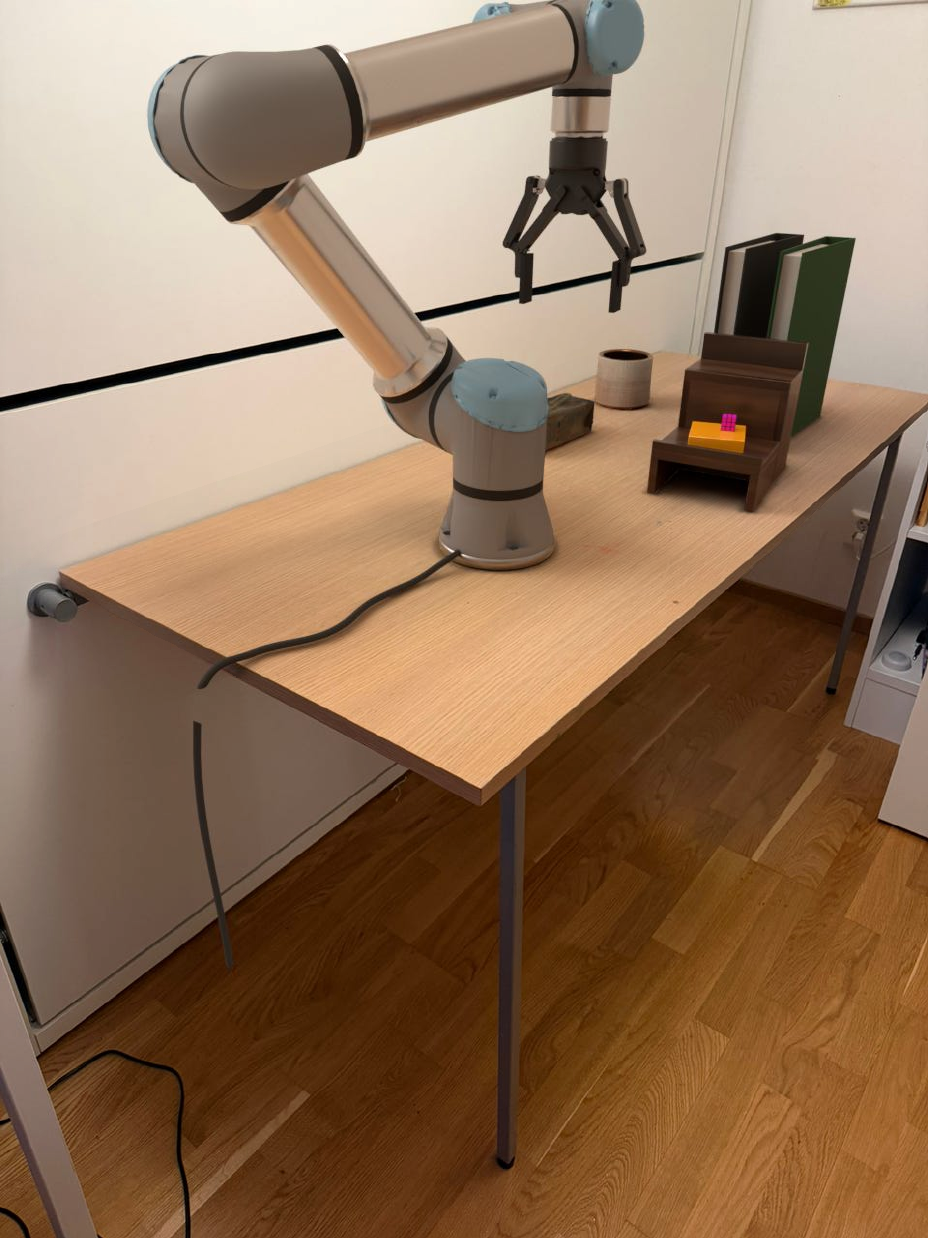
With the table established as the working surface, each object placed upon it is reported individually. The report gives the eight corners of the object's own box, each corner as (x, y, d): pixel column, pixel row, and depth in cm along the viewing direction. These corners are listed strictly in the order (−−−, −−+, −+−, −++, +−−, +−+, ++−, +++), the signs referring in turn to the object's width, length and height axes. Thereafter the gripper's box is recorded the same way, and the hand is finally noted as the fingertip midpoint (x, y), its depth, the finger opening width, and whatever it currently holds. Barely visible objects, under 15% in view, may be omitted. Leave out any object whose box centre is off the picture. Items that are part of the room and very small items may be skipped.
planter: (584, 399, 183) (587, 351, 178) (628, 393, 187) (633, 346, 182) (613, 412, 174) (617, 363, 170) (659, 406, 178) (664, 357, 174)
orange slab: (742, 455, 130) (747, 427, 128) (686, 450, 132) (690, 422, 130) (744, 439, 137) (748, 412, 135) (690, 435, 139) (694, 408, 137)
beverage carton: (594, 432, 163) (597, 396, 160) (533, 459, 150) (535, 420, 147) (558, 423, 167) (560, 388, 164) (496, 449, 154) (497, 411, 151)
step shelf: (752, 512, 130) (776, 373, 120) (646, 492, 136) (661, 360, 127) (785, 466, 147) (808, 342, 138) (690, 450, 154) (706, 331, 144)
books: (773, 453, 153) (809, 253, 137) (691, 437, 160) (716, 246, 145) (819, 416, 172) (855, 237, 157) (745, 404, 180) (772, 232, 164)
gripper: (681, 136, 113) (662, 310, 124) (506, 134, 124) (502, 295, 134) (663, 136, 107) (645, 319, 118) (480, 134, 118) (478, 302, 128)
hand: (568, 306), depth 126 cm, fingers open, 13 cm apart
